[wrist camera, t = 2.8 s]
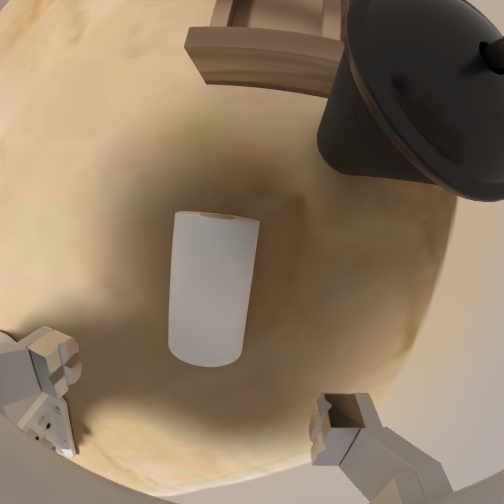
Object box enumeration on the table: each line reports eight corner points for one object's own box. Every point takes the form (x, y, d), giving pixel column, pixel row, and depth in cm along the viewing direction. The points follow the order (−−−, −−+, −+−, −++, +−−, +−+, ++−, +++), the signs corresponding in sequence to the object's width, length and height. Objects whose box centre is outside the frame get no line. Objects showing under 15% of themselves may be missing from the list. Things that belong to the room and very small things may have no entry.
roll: (252, 342, 20) (220, 377, 16) (194, 322, 22) (153, 347, 17) (271, 220, 19) (238, 224, 14) (204, 210, 20) (157, 211, 16)
